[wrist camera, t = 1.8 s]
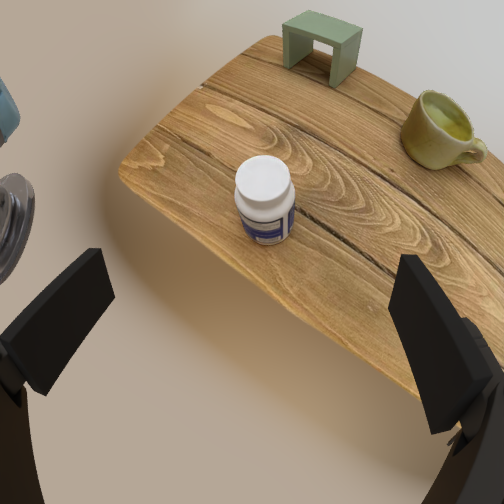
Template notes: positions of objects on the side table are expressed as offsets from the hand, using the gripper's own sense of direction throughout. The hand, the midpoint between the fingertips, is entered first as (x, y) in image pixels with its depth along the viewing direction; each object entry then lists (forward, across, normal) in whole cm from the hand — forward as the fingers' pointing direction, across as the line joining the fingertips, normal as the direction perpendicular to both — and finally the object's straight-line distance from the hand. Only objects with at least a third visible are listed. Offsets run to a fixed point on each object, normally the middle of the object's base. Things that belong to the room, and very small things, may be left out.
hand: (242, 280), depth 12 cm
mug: (+30, +24, +2) cm, 39 cm away
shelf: (+42, +8, +15) cm, 46 cm away
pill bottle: (+21, 0, -6) cm, 22 cm away
